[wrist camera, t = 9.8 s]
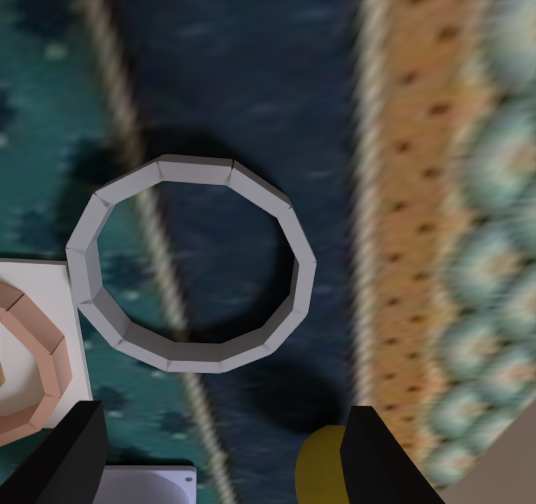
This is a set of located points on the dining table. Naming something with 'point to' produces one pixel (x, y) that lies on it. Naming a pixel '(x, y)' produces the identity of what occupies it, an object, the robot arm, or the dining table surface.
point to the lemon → (321, 468)
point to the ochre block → (1, 376)
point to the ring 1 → (47, 355)
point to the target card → (21, 359)
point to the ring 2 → (149, 343)
